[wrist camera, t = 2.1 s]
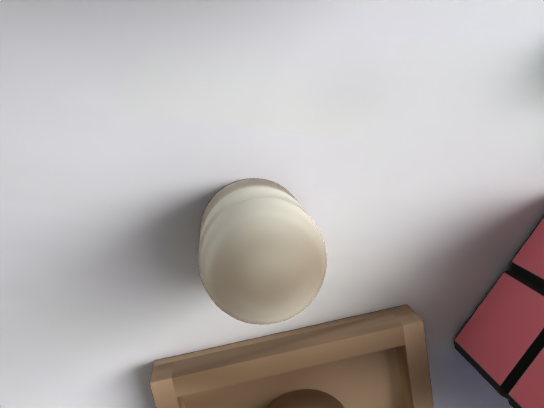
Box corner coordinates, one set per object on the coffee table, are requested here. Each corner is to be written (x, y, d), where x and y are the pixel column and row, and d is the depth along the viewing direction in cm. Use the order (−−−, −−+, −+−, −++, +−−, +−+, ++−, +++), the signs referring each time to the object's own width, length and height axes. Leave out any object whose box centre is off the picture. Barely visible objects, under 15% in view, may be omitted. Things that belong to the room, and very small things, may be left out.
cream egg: (190, 189, 24) (182, 227, 17) (295, 168, 24) (329, 197, 17) (212, 289, 25) (213, 362, 18) (312, 267, 25) (350, 331, 18)
